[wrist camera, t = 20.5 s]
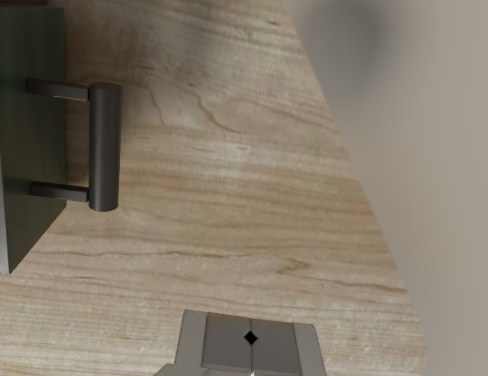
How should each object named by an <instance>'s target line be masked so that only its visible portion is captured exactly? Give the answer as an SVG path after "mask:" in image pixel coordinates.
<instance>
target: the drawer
mask: <svg viewBox="0 0 488 376" xmlns="http://www.w3.org/2000/svg"><path fill="white" fill-rule="evenodd" d="M122 96H123V88H122V86H120V85H117V84H112V83H104V82H96V83H91V84H90V86H83V85H76V84H70V83H65V46H64V8H63V7H56V6H50V5H44V4H11V3H0V274H11V273H12V272H13V270H14V269H15V268H16V267H17V266H18V264H19V263H20V262H21V261H22V259H23V258H24V257H25V256H26V255H27V253H28V252H29V251H30V250H31V248H32V247H33V246H34V245H35V244H36V242H37V241H38V240H39V239H40V238H41V236H42V235H43V234H44V233H45V231H46V230H47V229H48V228H49V227H50V225H51V224H52V223H53V222H54V221H55V219H56V218H57V217H58V216H59V214H60V213H61V212H62V211H63V210H64V208H65V207H66V200H72V201H80V202H88V200H89V207H90V208H91V209H93V210H95V211H100V212H107V211H112V210H114V209H116V208H117V207H118V195H119V170H120V145H121V121H122ZM65 99H71V100H78V101H86V102H88V101H90V116H89V187H82V186H74V185H66V126H65Z"/></svg>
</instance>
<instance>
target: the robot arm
mask: <svg viewBox="0 0 488 376" xmlns="http://www.w3.org/2000/svg"><path fill="white" fill-rule="evenodd" d="M154 376H327V374H326V370H325V366H324V362H323V358H322V354H321V349H320V345H319V341H318V337H317V333H316V329H315V327H314V325H313V324H305V323H294V322H292V323H289V322H280V321H271V320H262V319H253V318H246V317H239V316H232V315H225V314H218V313H211V312H207V313H206V312H201V311H194V310H187V309H185V311H184V313H183V318H182V324H181V329H180V335H179V340H178V345H177V351H176V356H175V361H174V364H168V363H167V364H166V365H165V366H164V367H163V368H161V369H160V370H159V371H158V372H157V373H156V374H155V375H154Z"/></svg>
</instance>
